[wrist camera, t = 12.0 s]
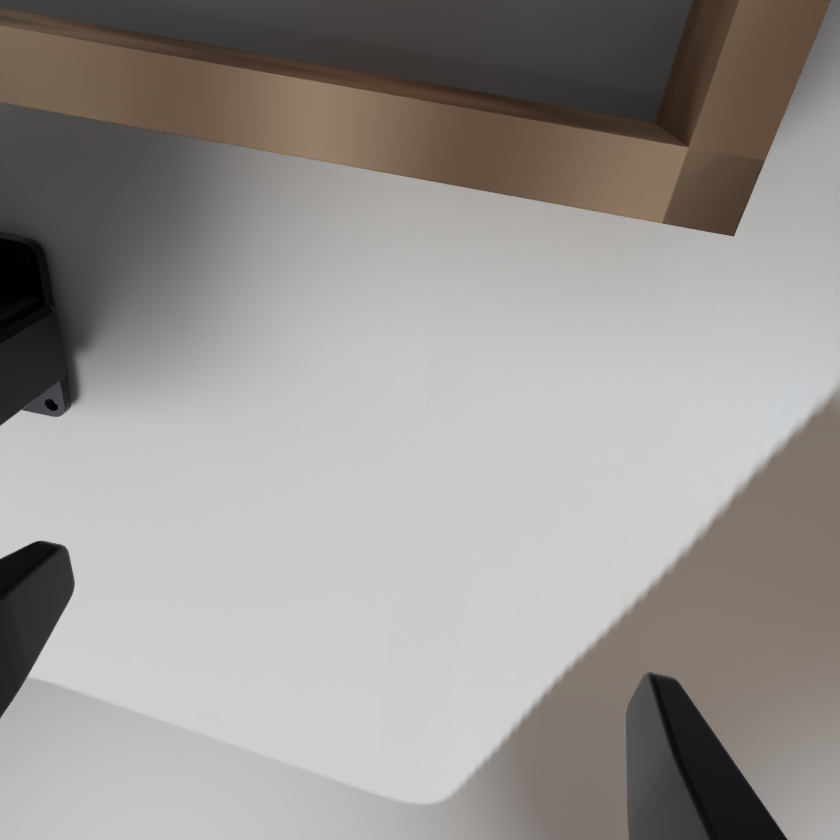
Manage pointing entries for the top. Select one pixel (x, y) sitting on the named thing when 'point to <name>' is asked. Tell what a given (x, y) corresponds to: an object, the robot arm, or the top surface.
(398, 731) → the top surface
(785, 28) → the corner walls
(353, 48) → the mat
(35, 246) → the robot arm
